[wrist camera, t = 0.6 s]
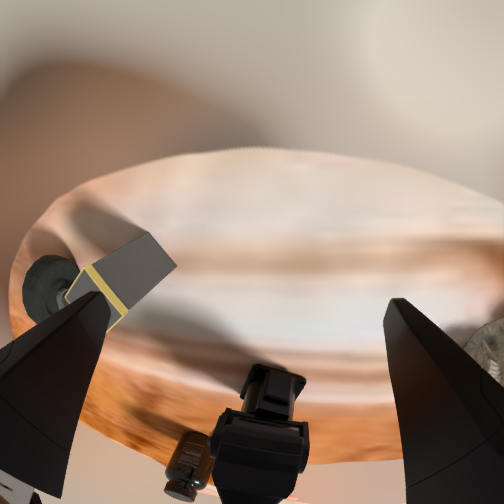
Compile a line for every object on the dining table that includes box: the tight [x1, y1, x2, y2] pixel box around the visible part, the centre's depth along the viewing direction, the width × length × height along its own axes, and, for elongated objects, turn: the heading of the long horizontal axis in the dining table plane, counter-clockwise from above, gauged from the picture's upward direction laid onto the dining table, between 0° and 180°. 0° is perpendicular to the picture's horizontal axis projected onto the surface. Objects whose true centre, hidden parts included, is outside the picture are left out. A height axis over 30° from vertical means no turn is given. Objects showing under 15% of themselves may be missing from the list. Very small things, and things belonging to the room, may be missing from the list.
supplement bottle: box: [164, 432, 215, 502], centre depth 33 cm, size 7×7×12 cm
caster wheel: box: [22, 255, 80, 324], centre depth 28 cm, size 6×10×15 cm
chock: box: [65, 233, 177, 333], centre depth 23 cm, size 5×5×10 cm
